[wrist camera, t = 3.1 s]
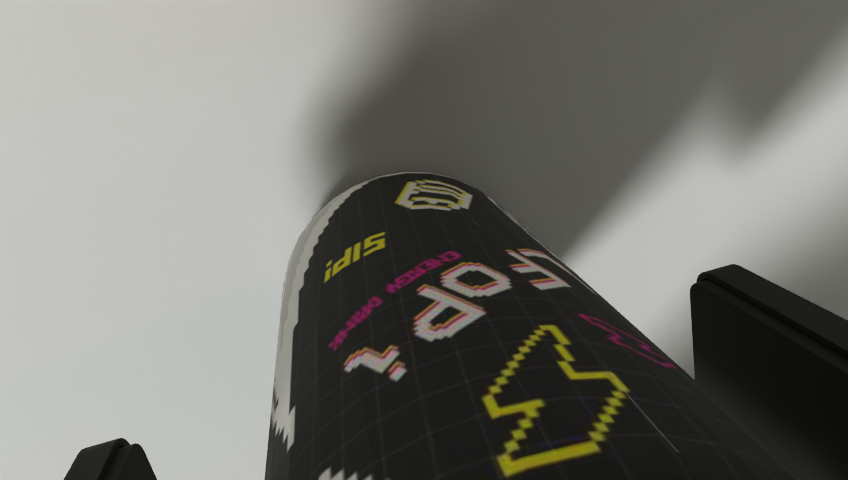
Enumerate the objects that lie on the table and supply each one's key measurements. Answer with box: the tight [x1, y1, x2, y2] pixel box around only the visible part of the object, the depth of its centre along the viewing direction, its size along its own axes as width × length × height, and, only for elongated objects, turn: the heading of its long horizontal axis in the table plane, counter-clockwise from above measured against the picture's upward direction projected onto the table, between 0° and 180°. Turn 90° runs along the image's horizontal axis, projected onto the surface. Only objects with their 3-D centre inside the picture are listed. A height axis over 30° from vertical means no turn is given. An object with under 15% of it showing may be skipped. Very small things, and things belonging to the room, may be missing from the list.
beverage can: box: [265, 172, 805, 480], centre depth 9 cm, size 6×6×12 cm
